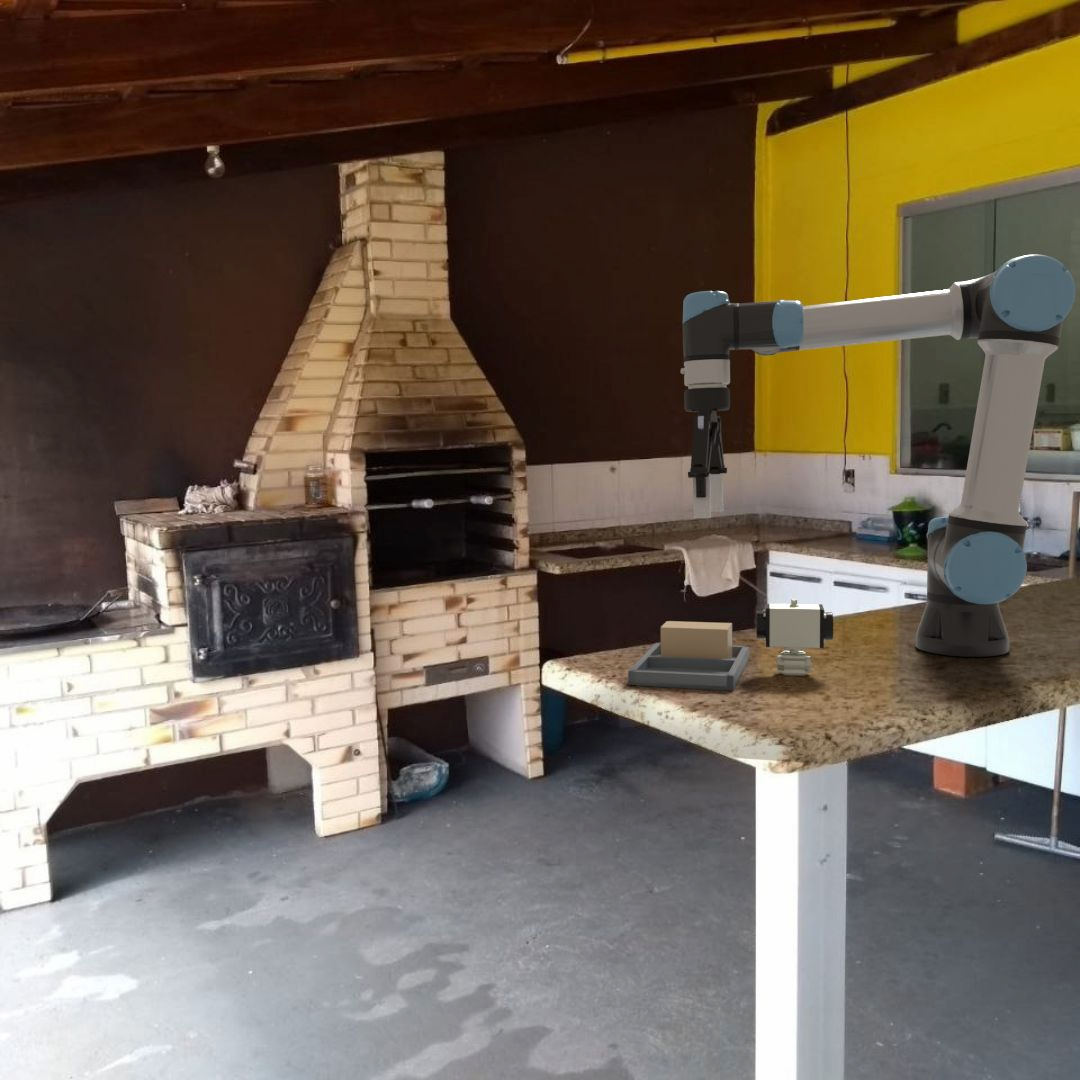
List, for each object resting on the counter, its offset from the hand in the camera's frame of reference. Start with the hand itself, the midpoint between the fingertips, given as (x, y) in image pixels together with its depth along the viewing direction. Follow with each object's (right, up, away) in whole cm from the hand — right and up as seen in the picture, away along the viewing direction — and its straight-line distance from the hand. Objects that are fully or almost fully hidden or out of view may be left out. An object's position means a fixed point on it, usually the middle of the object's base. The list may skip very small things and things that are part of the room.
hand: (709, 514), depth 176 cm
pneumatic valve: (+12, -26, -9) cm, 30 cm away
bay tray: (-4, -26, -6) cm, 27 cm away
